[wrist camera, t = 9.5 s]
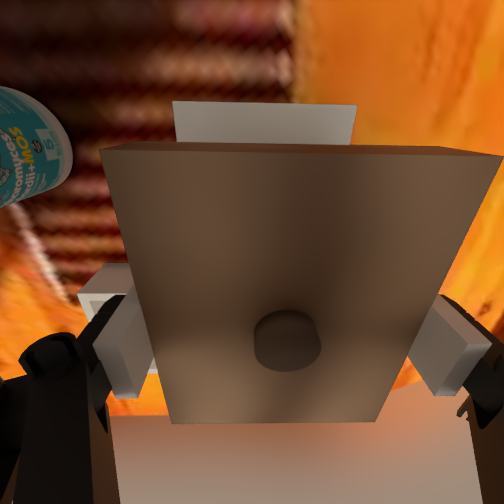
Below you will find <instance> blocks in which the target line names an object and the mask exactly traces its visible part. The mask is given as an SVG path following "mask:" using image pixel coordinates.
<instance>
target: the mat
mask: <svg viewBox="0 0 504 504" xmlns="http://www.w3.org/2000/svg"><path fill="white" fill-rule="evenodd" d="M172 104H173V113H174V121H175V129H176V137H177V142H218V143H275V144H333V145H350V141H351V136H352V130H353V125H354V120H355V115H356V110H357V105H335V104H288V103H241V102H195V101H172Z"/></svg>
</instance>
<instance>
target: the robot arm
mask: <svg viewBox="0 0 504 504" xmlns="http://www.w3.org/2000/svg"><path fill="white" fill-rule="evenodd" d="M407 356H408V358H409V359H410V360H411V362H412V363H413V365H414V366H415V368H416V369H417V371H418V372H419V374H420V375H421V377H422V378H423V380H424V381H425V383H426V384H427V386H428V387H429V389H430V390H431V392H432V393H433V395H434V396H455V395H456V394H457V393H458V391H459V390H460V388H461V387H462V386H464V388H465V389H466V390H467V391H468V393H469V394H470V395H469V396H468V397H467V399H466V400H465V402H464V403H463V404H462V405H461V407H460V408H459V409H458V411H457V416H458V417H461V416H462V415H463V414H464V412H465V411H467V413H468V417H467V418H466V420H467V421H469V424H470V431H471V436H472V442H473V448H474V454H475V460H476V465H477V471H478V477H479V483H480V488H481V495H482V500H483V504H504V344H503V343H501V342H500V341H499V340H498V339H497V338H496V337H495V336H494V335H492V334H491V333H490V332H489V331H488V330H487V329H486V328H485V327H483V326H482V325H481V324H480V323H479V322H478V321H475V319H474V318H473V317H472V316H471V315H470V314H469V313H466V311H465V310H464V309H463V308H462V307H461V306H460V305H459V304H458V303H456V302H455V301H453V300H451V299H450V298H448V297H446V296H445V295H439V294H437V296H436V298H435V300H434V302H433V304H432V306H431V307H430V309H429V311H428V313H427V315H426V317H425V319H424V322H423V324H422V326H421V328H420V330H419V332H418V334H417V336H416V338H415V340H414V342H413V344H412V346H411V348H410V350H409V352H408V354H407ZM153 358H154V354H153V350H152V346H151V343H150V339H149V335H148V331H147V328H146V324H145V320H144V316H143V312H142V309H141V305H140V303H139V299H138V296H137V292H136V288H135V284H133V285H132V287H131V288H130V290H129V291H128V293H127V294H126V295H117V294H115V295H114V296H113V297H111V298H110V299H109V300H107V301H106V302H104V304H103V305H102V306H101V308H100V309H99V310H98V312H97V314H95V315H94V317H93V318H92V319H91V322H89V323H88V325H87V326H86V327H85V328H84V330H83V331H82V332H81V334H80V335H79V336H78V338H77V339H76V337H75V335H73V334H71V333H69V332H59V333H55V334H50V335H48V336H46V337H43V338H41V339H39V340H38V341H36V342H35V343H33V344H31V345H30V346H29V347H28V348H27V349H26V350H25V351H24V352H23V353H22V354H21V356H20V358H19V360H18V362H19V363H20V364H21V366H22V367H23V369H24V370H25V372H26V373H27V375H24V376H20V377H16V378H12V379H8V380H5V381H4V380H3V379H2V378H1V376H0V504H12V501H13V504H120V497H119V489H118V481H117V473H116V465H115V458H114V450H113V442H112V434H111V426H110V418H109V410H108V406H107V403H106V399H107V397H108V395H109V393H110V391H111V389H112V391H113V393H114V396H115V398H116V399H129V398H138V396H139V394H140V391H141V389H142V386H143V384H144V381H145V378H146V376H147V373H148V371H149V368H150V366H151V363H152V360H153Z"/></svg>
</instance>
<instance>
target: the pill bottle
mask: <svg viewBox="0 0 504 504" xmlns="http://www.w3.org/2000/svg"><path fill="white" fill-rule="evenodd" d="M72 163H73V153H72V148H71V144H70V141H69V138H68V136H67V134H66V132H65V130H64V128H63V127H62V125H61V124H60V122H59V121H58V120H57V118H56V117H55V116H54V115H53V114H52V113H51V112H50V111H49V110H48V109H47V108H46V107H45V106H44V105H42V104H41V103H40V102H38V101H37V100H35V99H34V98H32V97H31V96H29V95H27V94H25V93H22V92H20V91H17V90H14V89H11V88H7V87H2V86H0V208H1V207H4V206H6V205H9V204H12V203H15V202H18V201H20V200H23V199H26V198H28V197H31V196H34V195H36V194H39V193H42V192H44V191H47V190H49V189H52V188H55V187H57V186H58V185H60V184H61V183H62V182H64V181H65V179H66V178H67V177H68V175H69V173H70V171H71V168H72Z"/></svg>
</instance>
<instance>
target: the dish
mask: <svg viewBox="0 0 504 504" xmlns="http://www.w3.org/2000/svg"><path fill="white" fill-rule="evenodd" d="M133 284H134V281H133V277H132V273H131V269H130V266H129V263H105V264H104V265H103V266H102V267H101V269H100V270H99V271H98V272H97V273H96V274H95V275H94V276H93V277H92V278H91V279H90V280H89V281H88V282H87V283H86V284H85V285H84V286H83V287H82V289H81V290H80V291H79V292H78V293H77V295H78V298H79V300H80V302H81V305H82V307H83V310H84V312H85V314H86V317H87V319H88V321H89V322H91V319H92V318H93V317H94V315H95V314H97V312H98V310H99V309H100V308H101V306H102V305H103V304H104V302H106V301H107V300H109V299H110V298H111V297H113V296H114V295H115V294H117V295H126V294H127V293H128V291H129V290H130V288H131V287H132V285H133ZM148 373H158V371H157V367H156V363H155V359H154V358H153V360H152V363H151V366H150V368H149V371H148Z"/></svg>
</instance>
